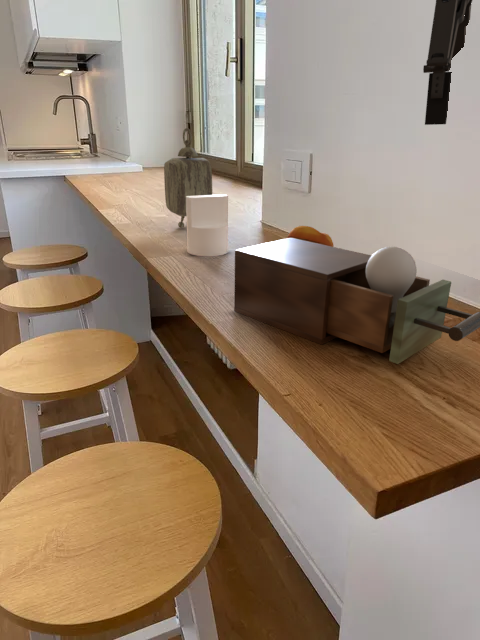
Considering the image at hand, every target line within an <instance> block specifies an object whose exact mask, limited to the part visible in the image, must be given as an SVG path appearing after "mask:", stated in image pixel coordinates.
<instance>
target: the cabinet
mask: <svg viewBox="0 0 480 640" xmlns="http://www.w3.org/2000/svg"><path fill="white" fill-rule="evenodd" d="M372 255H373V254H367V253H363V252H358V251H355V250H348V249H345V248H340V247H337V246H336V247H335V246H334V247H331V246H327V245H322V244H318V243H313V242H309V241H304V240H299V239H295V238H287V237H286V238H282V239H278V240H274V241H269V242H263V243H260V244H255V245H250V246H246V247H242V248H237V249H235V250H234V295H233V300H234V302H233V303H234V305H233V311H234V313H235V312H236V313H238V314H241V315H243V316H246V317H248V318H251V319H254V320H256V321H259V322H261V323H264V324H267V325H268V326H269V325H270V326H272V327H274V328H277V329H280V330H283V331H284V332H288V333H290V334H292V335H295V336H298V337H300V338H303V339H305V340H307V341H310V342H313V343H315V344H318V345H321V346H322V345H324V344H326V343H328V342H330V341H333V340H335V339H337V338H338V337H336V336H333V335H331V334H328V333H326V325H327V314H328V303H329V291H330V279H333V278H336V277H339V276H342V275H345V274H348V273H351V272H354V271H357V270H360V269H363V268H366V265H367V262H368V260H369V258H370V257H371V256H372Z"/></svg>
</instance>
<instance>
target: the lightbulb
mask: <svg viewBox="0 0 480 640" xmlns="http://www.w3.org/2000/svg"><path fill="white" fill-rule="evenodd" d="M371 255H372V256H371V257H370V258H369V260H368V262H367V265H366V278H367V281H368V284H369V286H370V288H371V289H372V290H375V291H379V292H383V293H386V294H390V295H393V302H392V309H391V316H390V323H389V328H391V327H392V326H393V325H394V320H395V315H396V309H397V302H398V299H400V298H402V297H403V296H404V294H405V293H406V292H407V290H408V289H409V288H410V286H411V285H412V284H413V282H414V280H415V277H416V276H417V273H418V271H417V269H418V268H417V264H416V260H415V259H414V257H413V256H412V254H411V253H410V252H408V251H407V250H406V249H404V248H402V247H398V246H385V247H382V248H380V249H378V250H376V251H375V252H374V253H372V254H371Z"/></svg>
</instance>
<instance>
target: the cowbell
mask: <svg viewBox="0 0 480 640" xmlns="http://www.w3.org/2000/svg"><path fill="white" fill-rule="evenodd" d="M186 132H188V135H189V139H186V138H185V137H186ZM182 140H183V145H185V147H182V148H181V149H180V150H179V151H178V153H177V157H172V158H171V159H168V160H167V161H165V162H164V166H163V168H164V169H163V174H164V175H163V176H164V177H163V178H164V181H163V182H164V197H165V206H166V208H167V210H169V211H170V212H171V213H173V214H174V215H177V216H179V217H181V218H180V221H179V222H178V224H177V226H178V228H180V229H183V228H184V227H185V223H184V219H185V217H187V213H186V196H196V195H213V171H212V164H211V162H210V161H209V159H207V158H205V157H198V153H197V151H196V150H195V149H194V147H190V146H191V145H192V141H193V136H192V130H191V129H190V128H188V127H185V128H184V129H183V131H182Z"/></svg>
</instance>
